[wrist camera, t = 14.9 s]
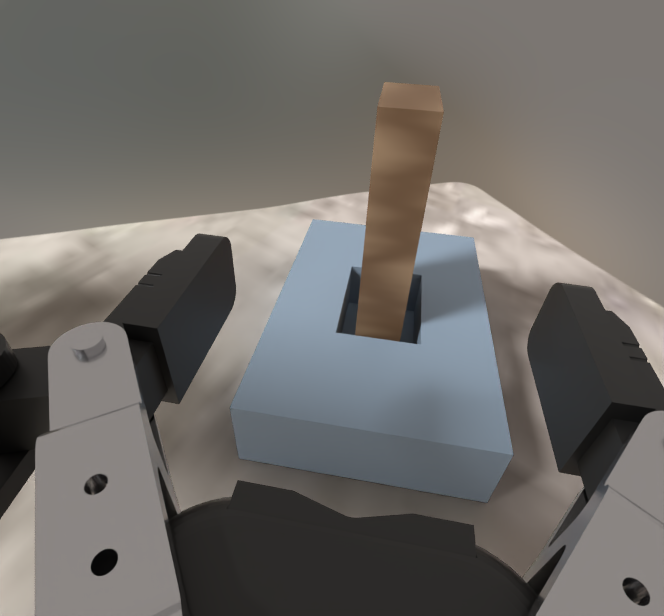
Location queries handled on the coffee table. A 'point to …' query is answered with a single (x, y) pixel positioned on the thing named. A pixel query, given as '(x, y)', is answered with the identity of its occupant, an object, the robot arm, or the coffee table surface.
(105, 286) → the coffee table surface
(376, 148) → the slat
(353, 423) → the end cap
